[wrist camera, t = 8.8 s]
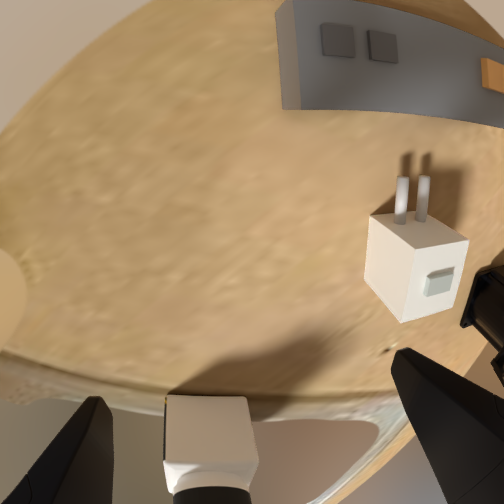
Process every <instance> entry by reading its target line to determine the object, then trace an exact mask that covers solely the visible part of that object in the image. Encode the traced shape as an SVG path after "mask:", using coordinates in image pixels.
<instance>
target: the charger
mask: <svg viewBox="0 0 504 504" xmlns="http://www.w3.org/2000/svg"><path fill="white" fill-rule="evenodd" d="M430 178H431V177H429V176H426V175H419V182H418V194H417V205H416V211H408V212H407V203H408V190H409V177H407V176H397V185H396V200H395V213H388V214H378V215H370V217H369V231H368V243H367V254H366V264H365V274H364V280H365V282H366V283H367V284H368V285H369V286H370V287H371V289H372V290H373V291H374V292H375V293H376V294H377V296H378V297H379V298H380V299H381V300H382V302H383V303H384V304H385V305H386V306H387V307H388V309H389V310H390V311H391V312H392V313H393V315H394V316H395V317H396V318H397V320H398V321H399V322H400V323H404V322H407V321H411V320H414V319H418V318H421V317H424V316H428V315H431V314H434V313H437V312H440V311H444V310H447V309H450V308H452V307H453V304H454V300H455V297H456V293H457V290H458V286H459V283H460V279H461V275H462V271H463V267H464V263H465V258H466V254H467V249H468V244H469V239H467V238H466V237H464V236H463V235H461V234H459V233H458V232H456V231H455V230H453V229H451V228H450V227H448V226H447V225H445V224H443V223H442V222H440V221H438V220H437V219H435V218H433V217H431V216H430V215H428V214H427V209H428V200H429V190H430Z"/></svg>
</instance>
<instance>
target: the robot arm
mask: <svg viewBox="0 0 504 504" xmlns="http://www.w3.org/2000/svg"><path fill="white" fill-rule="evenodd" d="M471 325H473V326H474V327H475V328H476V329H477V330H478V331H479V332H480V333H481V334H482V335H483V336H484V337H485V338H486V339H487V340H488V341H489V342H490V343H491V345H492V346H493V347H494V348H495V349H496V350H497V351H498V352H499V353H498V354H497V355H496V357H495V358H494V359H493V360H492V361H491V365H492V366H493V368H494V371H495V373H496V374H497V376H498V378H499V380H500V381H501V383H502V385H503V387H504V266H501V267H497V268H494V269H490V270H487V271H483V272H480V273H478V274H477V275H476V276H475V279H474V282H473V286H472V289H471V292H470V296H469V299H468V302H467V305H466V308H465V311H464V314H463V317H462V320H461V323H460V326H461V327H462V328H466V327H468V326H471ZM391 374H392V377H393V380H394V382H395V385H396V388H397V390H398V393H399V396H400V399H401V401H402V404H403V407H404V409H405V412H406V414H407V416H408V418H409V420H410V422H411V424H412V426H413V429H414V431H415V433H416V435H417V437H418V439H419V441H420V443H421V445H422V447H423V449H424V452H425V454H426V456H427V458H428V460H429V462H430V465H431V467H432V469H433V471H434V473H435V476H436V478H437V480H438V482H439V485H440V487H441V489H442V492H443V493H444V496H445V498H446V501H447V503H448V504H504V399H502V398H500V397H499V396H497V395H493V393H491V392H489V391H487V390H486V389H484V388H482V387H480V386H478V385H476V384H474V383H473V382H471V381H469V380H467V379H466V378H464V377H462V376H460V375H458V374H456V373H455V372H453V371H451V370H449V369H447V368H446V367H444V366H442V365H440V364H438V363H436V362H435V361H433V360H431V359H429V358H427V357H426V356H424V355H422V354H420V353H418V352H417V351H415V350H413V349H411V348H409V347H406V348H403V349H399V350H397V351H396V353H395V356H394V360H393V363H392V366H391ZM113 449H114V447H113V416H112V413H111V411H110V409H109V408H108V406H107V404H106V403H105V401H104V400H103V398H102V397H100V396H89V397H88V398H86V400H85V401H84V402H83V403H82V405H81V406H80V407H79V408H78V409H77V411H76V412H75V413H74V414H73V416H72V417H71V418H70V419H69V421H68V422H67V423H66V424H65V425H64V427H63V428H62V429H61V430H60V432H59V433H58V434H57V435H56V437H55V438H54V439H53V440H52V442H51V443H50V444H49V446H48V447H47V448H46V449H45V450H44V452H43V453H42V454H41V455H40V457H39V458H38V459H37V461H36V462H35V463H34V464H33V466H32V467H31V468H30V470H29V471H28V472H27V473H28V474H26V475H25V476H24V477H23V479H22V480H21V481H20V482H19V484H18V485H17V486H16V488H15V489H14V490H13V491H12V492H11V493H10V494H9V496H8V497H7V498H6V499H5V500H4V501H3V502H2V503H1V504H112V490H113V470H114V469H113V468H114V450H113Z"/></svg>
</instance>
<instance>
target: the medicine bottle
mask: <svg viewBox="0 0 504 504" xmlns="http://www.w3.org/2000/svg"><path fill="white" fill-rule="evenodd" d="M163 446H164V447H163V463H164V468H165V475H166V481H167V486H168V491H169V492H170V493H173V504H252V503H251V498H250V493H249V485H250V483H251V480H252V478H253V476H254V473H255V471H256V469H257V466H258V464H259V458H258V453H257V449H256V444H255V439H254V434H253V429H252V424H251V418H250V413H249V408H248V403H247V399H246V397H243V396H187V395H167V396H166V397H165V411H164V444H163Z"/></svg>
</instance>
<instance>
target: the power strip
mask: <svg viewBox="0 0 504 504" xmlns="http://www.w3.org/2000/svg"><path fill="white" fill-rule="evenodd" d="M275 17H276V28H277V40H278V52H279V65H280V79H281V93H282V109H285V110H360V111H379V112H393V113H405V114H415V115H424V116H433V117H440V118H448V119H454V120H461V121H467V122H473V123H478V124H484V125H489V126H494V127H498V128H503V129H504V49H503V48H501V47H499V46H497V45H495V44H493V43H490V42H488V41H486V40H484V39H482V38H479V37H477V36H475V35H472V34H470V33H467V32H465V31H462V30H460V29H457V28H454V27H452V26H449V25H446V24H443V23H441V22H438V21H435V20H432V19H428V18H425V17H422V16H419V15H415V14H412V13H408V12H405V11H401V10H397V9H393V8H389V7H384V6H380V5H375V4H370V3H365V2H360V1H354V0H285V2H284V3H283V4H282V5H281V6H280V7H279V9H278V10H277V11H276V12H275Z"/></svg>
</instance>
